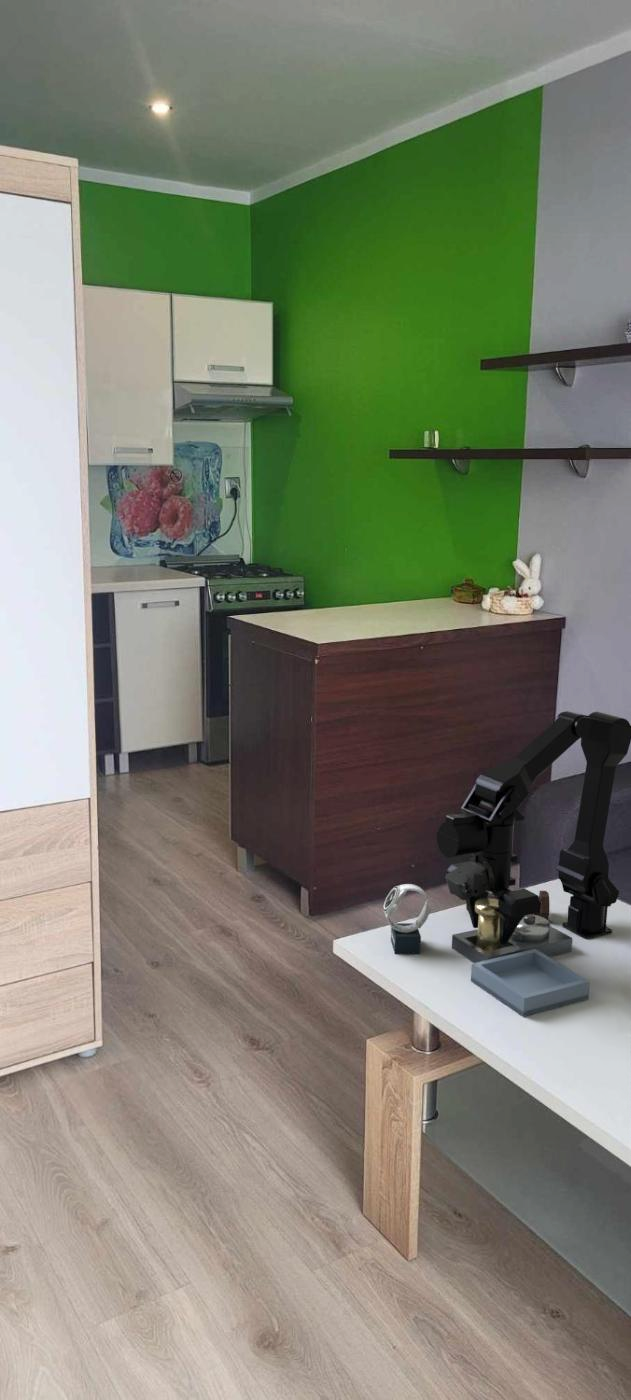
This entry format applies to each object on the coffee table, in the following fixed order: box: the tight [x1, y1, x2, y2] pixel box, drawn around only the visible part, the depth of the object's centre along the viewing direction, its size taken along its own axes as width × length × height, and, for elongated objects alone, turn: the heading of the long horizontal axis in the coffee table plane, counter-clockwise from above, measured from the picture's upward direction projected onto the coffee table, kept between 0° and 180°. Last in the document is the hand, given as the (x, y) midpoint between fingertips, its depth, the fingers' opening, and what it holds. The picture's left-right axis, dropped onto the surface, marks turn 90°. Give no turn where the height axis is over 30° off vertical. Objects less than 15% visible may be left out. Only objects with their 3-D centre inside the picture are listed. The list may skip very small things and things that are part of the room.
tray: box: [470, 949, 591, 1017], centre depth 168 cm, size 13×13×3 cm
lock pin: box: [475, 898, 501, 952], centre depth 179 cm, size 5×5×9 cm
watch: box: [382, 883, 431, 955], centre depth 182 cm, size 6×8×11 cm
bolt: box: [465, 890, 550, 921], centre depth 197 cm, size 6×5×15 cm
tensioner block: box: [451, 914, 573, 964], centre depth 182 cm, size 18×10×6 cm, turn 119°
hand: (489, 935), depth 180 cm, fingers open, 7 cm apart
